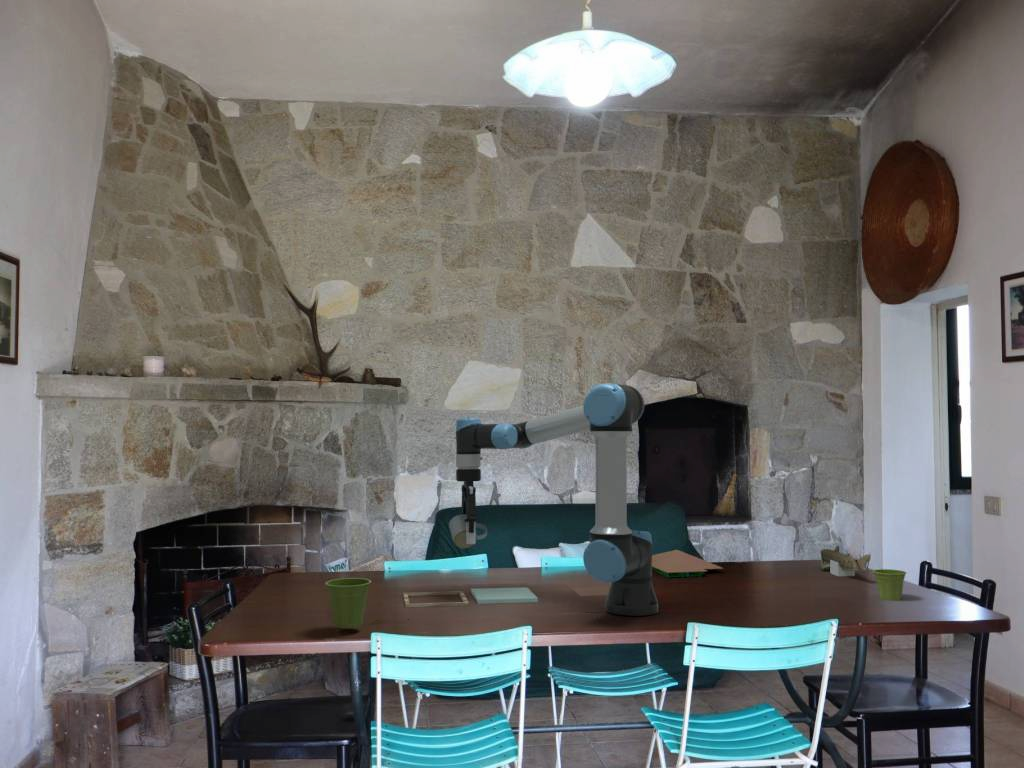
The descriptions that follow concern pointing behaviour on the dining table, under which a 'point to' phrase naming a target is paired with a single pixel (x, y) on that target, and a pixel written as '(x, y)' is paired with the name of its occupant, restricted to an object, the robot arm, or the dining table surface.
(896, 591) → the plant pot
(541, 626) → the dining table surface
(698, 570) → the tan flat piece
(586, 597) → the dining table surface
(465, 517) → the ceramic mug
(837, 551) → the wood carving
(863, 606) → the dining table surface
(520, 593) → the sage board
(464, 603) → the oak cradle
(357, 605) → the plant pot
